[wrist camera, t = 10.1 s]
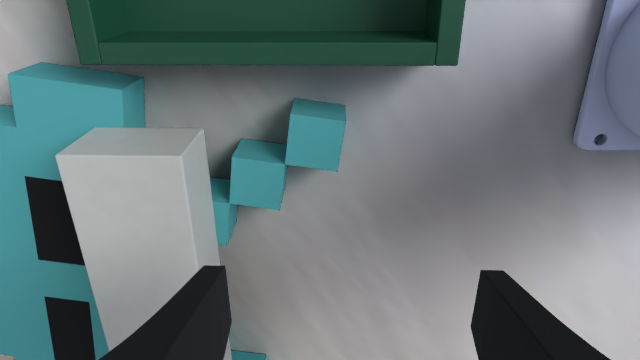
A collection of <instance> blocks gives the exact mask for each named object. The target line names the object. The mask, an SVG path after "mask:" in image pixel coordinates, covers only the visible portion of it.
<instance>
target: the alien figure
mask: <svg viewBox="0 0 640 360" xmlns="http://www.w3.org/2000/svg"><path fill="white" fill-rule="evenodd" d="M8 79H9V85H10V91H11V97H12V103H13V107H12V106H5V105H0V354H4V355H13V357H14V360H98V359H100V358H101V357H103V356H104V355H105V354H107V353H108V352H109V349H108V345H107V341H106V338H105V334H104V331H103V327H102V323H101V320H100V316H99V313H98V309H97V305H96V302H95V298H94V295H93V291H92V287H91V284H90V280H89V277H88V273H87V269H86V266H85V262H84V259H83V255H82V252H81V248H80V244H79V241H78V237H77V234H76V230H75V226H74V223H73V219H72V216H71V212H70V208H69V205H68V201H67V198H66V194H65V190H64V187H63V183H62V180H61V176H60V172H59V169H58V165H57V162H56V158H55V155H56V154H58V153H59V152H61V151H62V150H63V149H65V148H66V147H68V146H69V145H71V144H72V143H73V142H75V141H76V140H78V139H79V138H81V137H82V136H83V135H85V134H86V133H88V132H89V131H91V130H92V129H93V128H95V127H120V128H145V106H144V78H143V77H141V76H134V75H127V74H120V73H112V72H105V71H98V70H91V69H84V68H77V67H70V66H63V65H56V64H49V63H42V62H41V63H38V64H35V65H32V66H29V67H26V68H23V69H21V70H18V71H15V72H12V73H9V74H8ZM345 124H346V114H345V105H339V104H332V103H325V102H318V101H311V100H304V99H297V98H295V100H294V104H293V107H292V110H291V113H290V122H289V131H288V140H287V144H279V143H272V142H265V141H258V140H250V139H243V138H242V139H241V141H240V143H239V145H238V146H237V148H236V150H235V152H234V154H233V156H232V163H231V180H226V179H219V178H211V177H210V184H211V193H212V201H213V209H214V217H215V225H216V234H217V242H218V245H226V246H227V244H228V242H229V239H230V237H231V234H232V231H233V229H234V226H235V224H236V221H237V207H238V205H244V206H251V207H259V208H266V209H274V210H280V207H281V203H282V198H283V194H284V190H285V183H286V175H287V166H288V165H292V166H300V167H307V168H314V169H322V170H329V171H336V172H338V166H339V160H340V154H341V148H342V142H343V136H344V130H345ZM229 333H230V332H229ZM231 357H232V360H266V355H265V354H257V353H249V352H242V351H234V350H231Z"/></svg>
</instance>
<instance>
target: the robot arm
mask: <svg viewBox="0 0 640 360" xmlns="http://www.w3.org/2000/svg"><path fill="white" fill-rule="evenodd" d="M599 134H602V138H601V139H600V140H599V141H598V142H594V139H595V138H596V136H598V135H599ZM573 141H574V143H575V145H577V146H578V147H579V148H581V149H583V150H640V0H607V4H606V8H605V12H604V16H603V20H602V24H601V28H600V32H599V36H598V40H597V44H596V48H595V52H594V56H593V60H592V64H591V68H590V72H589V76H588V80H587V84H586V88H585V92H584V96H583V100H582V104H581V108H580V112H579V116H578V120H577V124H576V128H575V132H574V137H573ZM230 327H231V312H230V304H229V295H228V287H227V278H226V269H225V266H209V265H204V266H203V267H202V268H201V269H200V270H199V271H198V272H197V273H196V274H195V275H194V276H193V277H192V278H191V279H190V280H189V281H188V282H187V283H186V284H185V285H184V286H183V287H182V288H181V289H180V290H179V291H178V292H177V293H176V294H175V295H174V296H173V297H172V298H171V299H170V300H169V301H168V302H167V303H166V304H165V305H164V306H163V307H161V308H160V309H159V310H158V311H157V312H156V313H155V314H154V315H153V316H152V317H151V318H150V319H149V320H147V321H146V322H145V323H144V324H143V325H142V326H141V327H139V328H138V329H137V330H136V331H135V332H134V333H133V334H131V335H130V336H129V337H128V338H126V339H125V340H124V341H123V342H121V343H120V344H119V345H118V346H116V347H115V348H113V349H112V350H111V351H109V352H108V353H107V354H105V355H104V356H103V357H101V358H100V359H98V360H223V359H224V355H225V351H226V347H227V342H228V337H229V332H230ZM471 330H472V334H473V338H474V343H475V347H476V351H477V355H478V359H479V360H610V359H609V358H607V357H606V356H605V355H603V354H602V353H600V352H599V351H598V350H596V349H595V348H594V347H592V346H591V345H590V344H588V343H587V342H586V341H585V340H583V339H582V338H581V337H579V336H578V335H577V334H576V333H574V332H573V331H572V330H571V329H569V328H568V327H567V326H566V325H564V324H563V323H562V322H561V321H560V320H558V319H557V318H556V317H555V316H554V315H553V314H551V313H550V312H549V311H548V310H547V309H546V308H544V307H543V306H542V305H541V304H540V303H539V302H538V301H537V300H535V299H534V298H533V297H532V296H531V295H530V294H529V293H528V292H527V291H526V290H524V289H523V288H522V287H521V286H520V285H519V284H518V283H517V282H516V281H514V280H513V279H512V278H511V277H510V276H509V275H508V274H507V273H505V272H504V271H497V270H481V272H480V278H479V284H478V289H477V295H476V300H475V306H474V311H473V317H472V322H471Z"/></svg>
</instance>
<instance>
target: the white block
mask: <svg viewBox="0 0 640 360" xmlns="http://www.w3.org/2000/svg"><path fill="white" fill-rule="evenodd" d="M55 158H56V162H57V165H58V169H59V172H60V176H61V180H62V183H63V187H64V190H65V194H66V198H67V201H68V205H69V208H70V212H71V216H72V219H73V223H74V226H75V230H76V234H77V237H78V241H79V244H80V248H81V252H82V255H83V259H84V262H85V266H86V269H87V273H88V277H89V280H90V284H91V287H92V291H93V295H94V298H95V302H96V305H97V309H98V313H99V316H100V320H101V323H102V327H103V331H104V334H105V338H106V341H107V345H108V349H109V351H111V350H112V349H113V348H115V347H116V346H118V345H119V344H120V343H121V342H123V341H124V340H125V339H126V338H128V337H129V336H130V335H131V334H133V333H134V332H135V331H136V330H137V329H138V328H139V327H141V326H142V325H143V324H144V323H145V322H146V321H147V320H149V319H150V318H151V317H152V316H153V315H154V314H155V313H156V312H157V311H158V310H159V309H160V308H161V307H163V306H164V305H165V304H166V303H167V302H168V301H169V300H170V299H171V298H172V297H173V296H174V295H175V294H176V293H177V292H178V291H179V290H180V289H181V288H182V287H183V286H184V285H185V284H186V283H187V282H188V281H189V280H190V279H191V278H192V277H193V276H194V275H195V274H196V273H197V272H198V271H199V270H200V269H201V268H202V267H203V266H204V265H209V266H220V258H219V250H218V242H217V234H216V225H215V217H214V209H213V201H212V193H211V184H210V176H209V168H208V160H207V152H206V143H205V135H204V129H203V128H120V127H95V128H93V129H92V130H91V131H89V132H88V133H86V134H85V135H83V136H82V137H81V138H79V139H78V140H76V141H75V142H73V143H72V144H71V145H69V146H68V147H66V148H65V149H63V150H62V151H61V152H59V153H58V154H56V155H55ZM223 360H232V357H231V348H230V340H229V337H228V342H227V347H226V351H225V355H224V359H223Z"/></svg>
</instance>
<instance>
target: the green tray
mask: <svg viewBox="0 0 640 360" xmlns="http://www.w3.org/2000/svg"><path fill="white" fill-rule="evenodd" d="M66 1H67V5H68V10H69V14H70V18H71V23H72V27H73V31H74V36H75V40H76V45H77V49H78V53H79V58H80V62H81V64H83V65H101V64H103V65H414V66H433V65H436V66H456V65H457V64H458V57H459V49H460V41H461V33H462V25H463V17H464V9H465V1H466V0H66Z"/></svg>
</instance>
